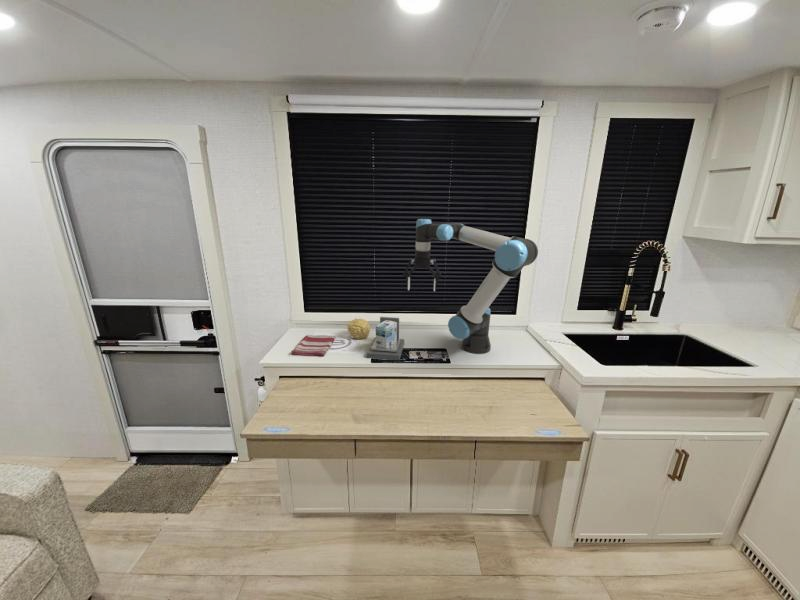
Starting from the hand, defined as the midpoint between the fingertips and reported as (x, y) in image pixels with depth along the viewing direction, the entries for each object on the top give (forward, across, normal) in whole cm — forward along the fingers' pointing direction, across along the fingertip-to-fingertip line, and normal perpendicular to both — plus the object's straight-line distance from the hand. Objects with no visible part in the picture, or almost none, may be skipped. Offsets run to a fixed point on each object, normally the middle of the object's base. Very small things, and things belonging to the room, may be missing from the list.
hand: (421, 290), depth 173 cm
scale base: (+29, +16, +16) cm, 36 cm away
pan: (+26, +16, +17) cm, 35 cm away
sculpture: (+29, +34, +1) cm, 45 cm away
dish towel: (+29, +54, +17) cm, 64 cm away
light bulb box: (+25, +16, +17) cm, 34 cm away
